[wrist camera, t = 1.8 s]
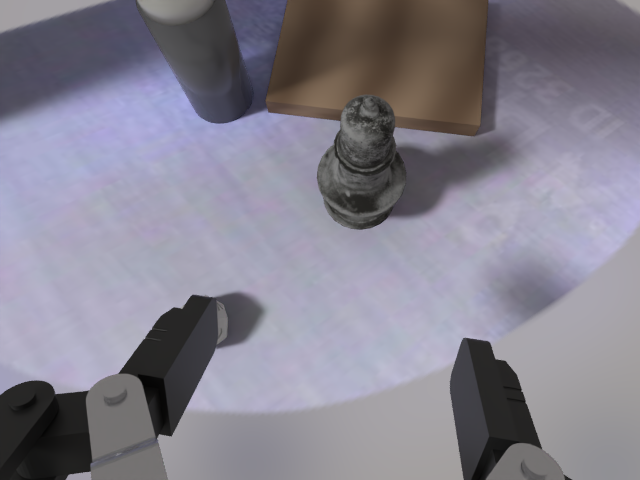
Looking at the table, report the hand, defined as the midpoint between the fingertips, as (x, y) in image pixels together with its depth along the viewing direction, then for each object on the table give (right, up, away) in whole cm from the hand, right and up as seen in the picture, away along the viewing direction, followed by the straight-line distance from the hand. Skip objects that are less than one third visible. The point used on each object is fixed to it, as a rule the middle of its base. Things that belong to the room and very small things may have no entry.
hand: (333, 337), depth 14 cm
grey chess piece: (+2, +6, +18) cm, 19 cm away
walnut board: (+4, +18, +21) cm, 28 cm away
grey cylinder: (-8, +15, +21) cm, 27 cm away
